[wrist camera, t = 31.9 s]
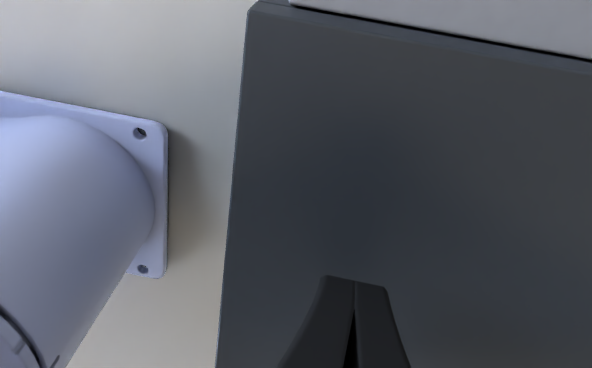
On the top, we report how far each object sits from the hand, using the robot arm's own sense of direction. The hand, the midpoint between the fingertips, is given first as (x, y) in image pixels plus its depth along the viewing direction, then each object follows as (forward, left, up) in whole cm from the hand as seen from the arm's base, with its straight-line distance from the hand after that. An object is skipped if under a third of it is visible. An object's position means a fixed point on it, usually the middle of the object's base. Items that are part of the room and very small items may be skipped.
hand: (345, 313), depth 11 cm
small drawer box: (+3, -1, -9) cm, 10 cm away
